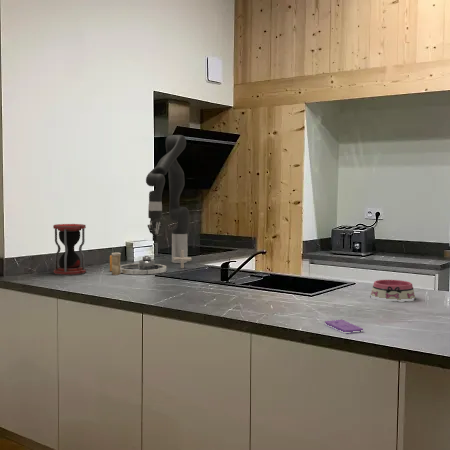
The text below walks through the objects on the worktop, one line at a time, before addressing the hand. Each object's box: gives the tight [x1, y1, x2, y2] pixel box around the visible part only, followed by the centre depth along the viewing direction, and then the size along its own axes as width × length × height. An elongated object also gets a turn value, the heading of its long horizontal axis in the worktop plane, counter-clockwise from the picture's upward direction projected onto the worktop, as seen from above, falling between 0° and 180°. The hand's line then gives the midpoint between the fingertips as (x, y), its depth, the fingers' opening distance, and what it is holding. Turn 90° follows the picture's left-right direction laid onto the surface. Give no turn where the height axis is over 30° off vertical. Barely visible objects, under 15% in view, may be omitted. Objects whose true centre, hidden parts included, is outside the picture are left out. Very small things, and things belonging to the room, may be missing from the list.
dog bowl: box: [370, 279, 416, 300], centre depth 242 cm, size 18×19×7 cm
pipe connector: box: [173, 250, 192, 269], centre depth 318 cm, size 10×10×10 cm
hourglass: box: [52, 223, 87, 276], centre depth 296 cm, size 16×16×25 cm
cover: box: [138, 255, 155, 270], centre depth 310 cm, size 8×8×8 cm
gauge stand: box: [111, 252, 122, 276], centre depth 293 cm, size 4×4×11 cm
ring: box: [109, 254, 167, 275], centre depth 305 cm, size 26×30×8 cm
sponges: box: [324, 318, 364, 332], centre depth 188 cm, size 7×13×2 cm, turn 22°
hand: (154, 240), depth 318 cm, fingers closed
